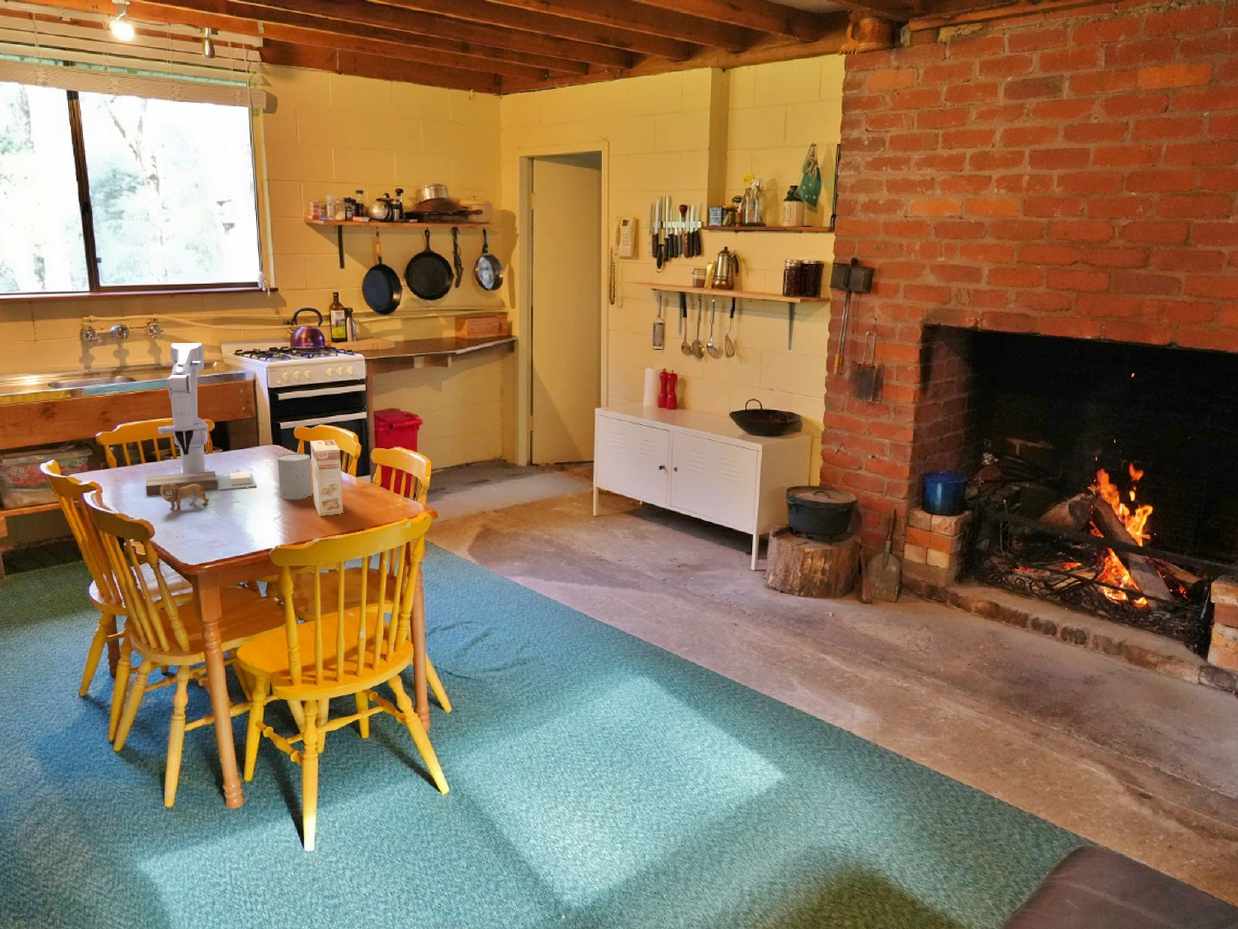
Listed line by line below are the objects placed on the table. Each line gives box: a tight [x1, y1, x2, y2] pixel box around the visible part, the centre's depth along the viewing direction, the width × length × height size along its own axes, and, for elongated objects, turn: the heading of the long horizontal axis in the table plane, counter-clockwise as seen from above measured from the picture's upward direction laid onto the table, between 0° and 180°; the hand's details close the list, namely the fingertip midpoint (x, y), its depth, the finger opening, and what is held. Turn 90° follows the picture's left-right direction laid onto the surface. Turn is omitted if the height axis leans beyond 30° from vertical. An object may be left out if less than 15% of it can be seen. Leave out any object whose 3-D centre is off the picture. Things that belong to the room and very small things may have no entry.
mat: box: [216, 473, 257, 491], centre depth 303 cm, size 16×11×1 cm
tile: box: [228, 471, 251, 485], centre depth 303 cm, size 8×6×2 cm
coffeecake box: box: [310, 439, 344, 517], centre depth 275 cm, size 15×7×20 cm, turn 23°
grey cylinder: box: [277, 453, 313, 501], centre depth 289 cm, size 10×10×12 cm
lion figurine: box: [160, 482, 209, 512], centre depth 274 cm, size 15×5×9 cm, turn 148°
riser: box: [145, 470, 218, 496], centre depth 296 cm, size 12×20×3 cm, turn 115°
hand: (186, 454), depth 300 cm, fingers closed
